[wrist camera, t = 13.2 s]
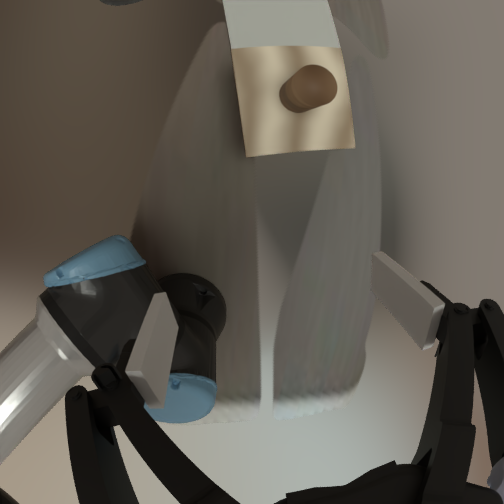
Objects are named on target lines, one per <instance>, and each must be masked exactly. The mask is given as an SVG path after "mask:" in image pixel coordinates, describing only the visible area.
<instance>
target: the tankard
mask: <svg viewBox="0 0 504 504" xmlns="http://www.w3.org/2000/svg"><path fill="white" fill-rule="evenodd" d="M100 1H101V2H103V3H105V4H108V5H115V6H120V5H127V4H132V3H136V2H139V1H141V0H100Z"/></svg>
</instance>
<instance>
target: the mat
mask: <svg viewBox="0 0 504 504" xmlns="http://www.w3.org/2000/svg"><path fill="white" fill-rule="evenodd" d="M222 1H223V6H224V11H225V17H226V22H227V28H228V33H229V39H230V45H231V49H235V48H246V47H261V46H320V47H334V48H340V44H339V41H338V36H337V32H336V29H335V25H334V21H333V18H332V14H331V11H330V8H329V4H328V1H327V0H222Z"/></svg>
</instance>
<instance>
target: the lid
mask: <svg viewBox="0 0 504 504" xmlns="http://www.w3.org/2000/svg"><path fill="white" fill-rule="evenodd" d="M231 56H232V63H233V70H234V77H235V84H236V90H237V97H238V104H239V111H240V118H241V126H242V133H243V140H244V147H245V154H246V157H254V156H260V155H269V154H279V153H287V152H299V151H311V150H326V149H345V148H355V140H354V130H353V120H352V112H351V104H350V97H349V90H348V84H347V78H346V72H345V66H344V61H343V56H342V52H341V48H334V47H320V46H261V47H246V48H235V49H231Z"/></svg>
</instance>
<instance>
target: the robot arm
mask: <svg viewBox="0 0 504 504" xmlns="http://www.w3.org/2000/svg"><path fill="white" fill-rule="evenodd" d="M43 279H44V285H45V286H46V287H48V288H47V289H46V290H45V291H44V292H43V293H42V294H41V295H40V296H39V297H38V298H37V307H36V316H35V318H34V319H33V320H32V321H31V322H30V323H29V324H28V325H27V326H26V327H25V328H24V329H23V330H22V331H21V332H20V333H19V334H18V335H17V336H16V337H15V338H14V339H13V340H12V341H11V342H10V343H9V344H8V345H7V346H6V347H5V349H4V350H2V352H1V353H0V465H1V463H2V462H3V461H4V460H5V459H6V458H7V457H8V456H9V454H10V453H11V452H12V451H13V450H14V449H15V448H16V447H17V446H18V444H19V443H20V442H21V441H22V440H23V439H24V438H25V437H26V436H27V435H28V433H29V432H30V431H31V430H32V429H33V428H34V427H35V426H36V425H37V424H38V423H39V422H40V421H41V419H42V418H43V417H44V416H45V415H46V414H47V413H48V412H49V411H50V410H51V409H52V408H53V407H54V406H55V405H56V404H57V403H58V401H60V399H61V398H62V397H63V396H64V395H65V394H66V395H65V410H66V411H65V412H66V426H67V437H68V446H69V453H70V460H71V466H72V472H73V477H74V482H75V487H76V491H77V495H78V500H79V503H80V504H139V502H138V500H137V497H136V495H135V492H134V490H133V487H132V485H131V482H130V479H129V476H128V474H127V471H126V468H125V465H124V462H123V459H122V456H121V453H120V449H119V446H118V442H117V439H116V435H115V431H114V427H113V426H117V425H120V426H121V428H122V429H123V431H124V432H125V434H126V436H127V437H128V439H129V440H130V441H131V443H132V444H133V446H134V447H135V449H136V450H137V452H138V453H139V454H140V456H141V457H142V458H143V460H144V461H145V462H146V463H147V465H148V466H149V467H150V469H151V470H152V471H153V473H154V474H155V475H156V476H157V478H158V479H159V480H160V481H161V482H162V484H163V485H164V486H165V487H166V488H167V489H168V490H169V492H170V493H171V494H172V495H173V496H174V497H175V498H176V499H177V501H178V502H179V503H180V504H240V503H239V502H237V501H236V500H235V499H234V498H232V497H231V496H230V495H229V494H228V493H226V492H225V491H224V490H223V489H221V488H220V487H219V486H218V485H216V484H215V483H214V482H213V481H212V480H211V479H210V478H208V477H207V476H206V475H205V474H204V473H203V472H202V471H201V470H200V469H199V468H198V467H197V466H196V465H195V464H194V463H193V462H192V461H191V460H190V459H188V457H187V456H186V455H185V454H184V453H183V452H182V451H181V450H180V449H179V448H178V447H177V446H176V445H175V444H174V442H173V441H172V440H171V439H170V438H169V437H168V436H167V435H166V433H165V432H164V431H163V430H162V429H161V428H160V427H159V425H158V424H157V423H156V422H155V421H159V422H166V423H187V422H192V421H196V420H199V419H201V418H203V417H205V416H206V415H207V414H209V413H210V411H211V410H212V408H213V407H214V404H215V398H216V391H217V384H216V341H217V339H218V338H219V336H220V334H221V332H222V330H223V328H224V326H225V322H226V305H225V301H224V298H223V296H222V295H221V293H220V292H219V290H218V289H217V288H216V287H215V286H214V285H213V284H211V283H210V282H209V281H207V280H205V279H203V278H201V277H198V276H195V275H191V274H174V275H170V276H167V277H165V278H163V279H161V280H159V281H158V282H157V281H156V279H155V277H154V276H153V274H152V273H151V271H150V270H149V268H148V266H147V265H146V261H145V260H144V259H142V258H141V256H140V255H139V254H138V252H137V251H136V249H135V248H134V246H133V245H132V243H131V242H130V241H129V240H128V239H127V238H126V237H124V236H121V235H114V236H111V237H108V238H106V239H104V240H102V241H100V242H98V243H96V244H94V245H92V246H90V247H89V248H87V249H85V250H83V251H81V252H79V253H78V254H76V255H74V256H72V257H71V258H69V259H67V260H66V261H64V262H62V263H61V264H59V265H58V266H56V267H55V268H54V269H52V270H50V271H48V272H47V273H46V274H45V275H44V278H43ZM370 290H371V291H372V292H373V293H374V295H375V296H376V297H377V298H378V299H379V300H380V301H381V302H382V304H383V305H384V306H385V307H386V308H387V309H388V310H389V311H390V313H392V315H393V316H394V317H395V318H396V320H397V321H398V322H399V323H400V324H401V325H402V327H403V328H404V329H405V330H406V331H407V333H408V334H409V335H410V336H411V337H412V339H413V340H414V341H415V342H416V343H417V345H418V346H419V347H420V348H421V350H422V351H423V350H425V349H428V348H430V347H432V346H433V345H434V341H435V339H436V338H437V339H438V340H439V341H440V342H439V345H438V348H437V351H436V354H435V357H436V356H437V360H436V368H435V375H434V381H433V388H432V393H431V398H430V403H429V408H428V412H427V416H426V421H425V425H424V428H423V432H422V436H421V439H420V443H419V447H418V449H417V452H416V454H415V456H414V458H413V460H412V462H411V464H399V465H397V464H396V462H395V460H394V461H392V462H389V463H387V464H384V465H382V466H379V467H377V468H375V469H372V470H370V471H368V472H367V473H365V474H363V475H362V476H360V477H359V478H357V479H355V480H354V481H352V482H350V483H348V484H346V485H343V486H333V487H314V488H310V489H305V490H301V491H296V492H291V493H286V498H285V499H283V500H280V501H278V502H276V503H274V504H504V314H503V312H502V310H501V309H500V307H499V305H498V304H497V303H496V302H495V301H493V300H491V299H483V300H482V301H481V302H480V305H479V308H474V309H470V308H469V307H468V306H467V305H465V304H462V303H454V304H453V303H452V302H451V301H450V300H448V299H447V298H446V297H445V296H444V295H443V294H441V293H439V291H438V290H437V289H435V288H434V287H433V286H432V285H431V284H429V283H427V282H425V281H419V280H417V279H416V278H415V277H414V276H412V275H411V274H410V273H409V272H408V271H406V270H405V269H404V268H403V267H401V266H400V265H399V264H398V263H396V262H395V261H394V260H393V259H391V258H390V257H389V256H387V255H386V254H385V253H383V252H382V251H381V252H376V253H372V271H371V288H370ZM474 368H475V372H476V375H477V380H478V384H479V388H480V393H481V398H482V403H483V408H484V414H485V421H486V427H487V435H488V445H489V453H490V460H491V464H492V470H491V474H490V476H489V477H488V479H487V484H488V486H490V488H487V487H482V486H479V485H475V484H472V483H468V482H466V480H467V476H468V472H469V467H470V462H471V458H472V452H473V447H474V440H475V433H476V427H475V425H472V424H471V418H472V409H473V394H474ZM83 376H91V378H92V381H93V382H94V383H95V385H96V386H97V388H98V389H95V390H92V391H87V390H86V388H84V387H83V386H80V385H78V386H74V385H75V384H76V383H77V382H78V381H79V380H80V379H81V378H82V377H83ZM73 386H74V387H73ZM154 420H155V421H154ZM0 504H19V503H18V502H17V501H16V500H15V499H13V498H12V497H11V496H10V495H9V494H8V493H6V492H5V491H4V490H3V489H1V488H0Z"/></svg>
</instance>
